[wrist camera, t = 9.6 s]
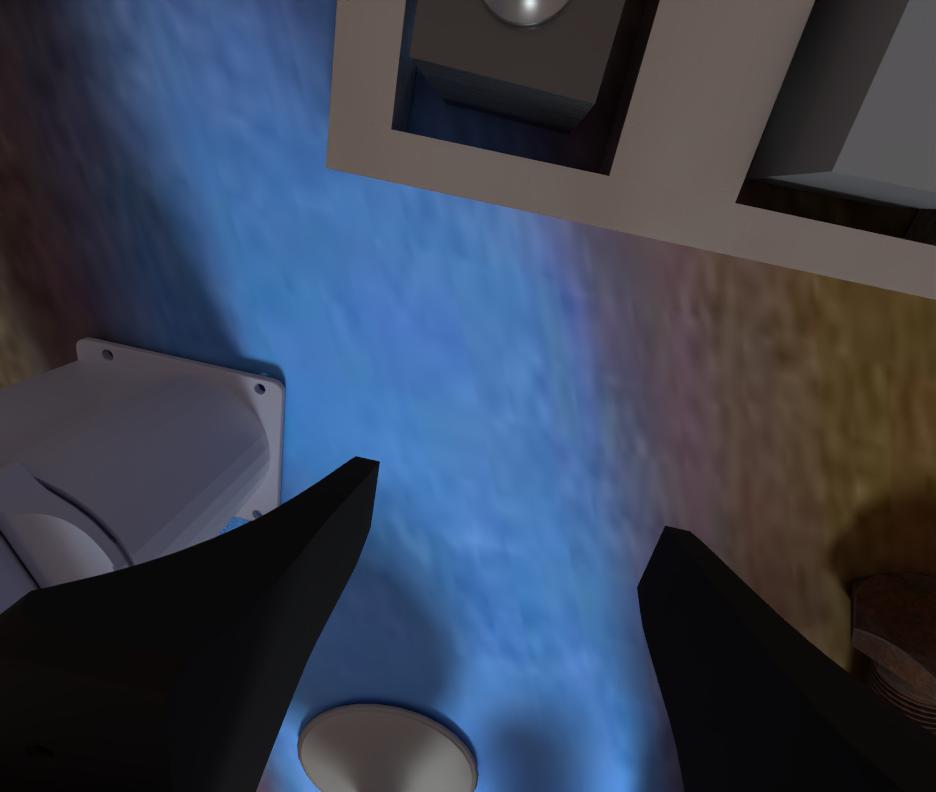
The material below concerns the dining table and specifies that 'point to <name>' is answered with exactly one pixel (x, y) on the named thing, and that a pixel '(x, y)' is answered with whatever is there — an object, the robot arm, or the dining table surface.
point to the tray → (628, 141)
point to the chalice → (384, 752)
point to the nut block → (517, 56)
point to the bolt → (898, 640)
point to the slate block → (858, 106)
